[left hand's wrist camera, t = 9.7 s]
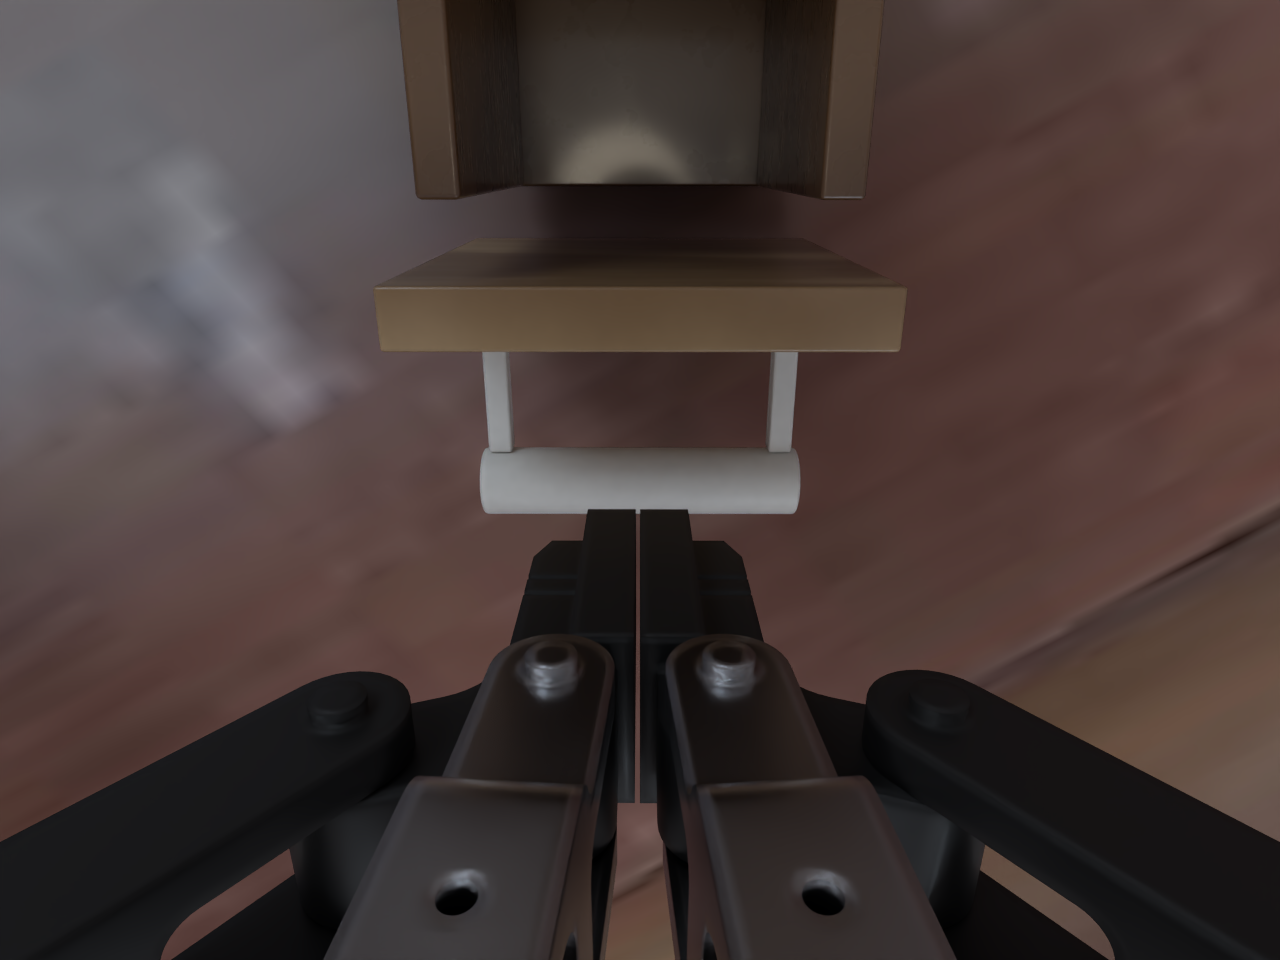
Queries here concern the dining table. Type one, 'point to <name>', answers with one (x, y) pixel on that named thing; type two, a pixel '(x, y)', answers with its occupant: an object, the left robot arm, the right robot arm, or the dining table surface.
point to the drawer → (640, 267)
